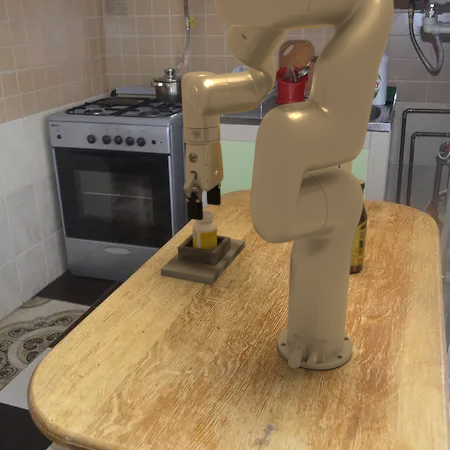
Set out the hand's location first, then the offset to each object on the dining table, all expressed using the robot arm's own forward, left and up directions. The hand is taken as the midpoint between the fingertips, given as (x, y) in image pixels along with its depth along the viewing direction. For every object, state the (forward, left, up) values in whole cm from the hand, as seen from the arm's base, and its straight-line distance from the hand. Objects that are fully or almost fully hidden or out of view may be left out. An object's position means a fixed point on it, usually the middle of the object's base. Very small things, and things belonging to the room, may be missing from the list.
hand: (205, 211), depth 120 cm
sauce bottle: (+8, -30, -12) cm, 34 cm away
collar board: (0, +1, -12) cm, 12 cm away
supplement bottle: (0, 0, -11) cm, 11 cm away
